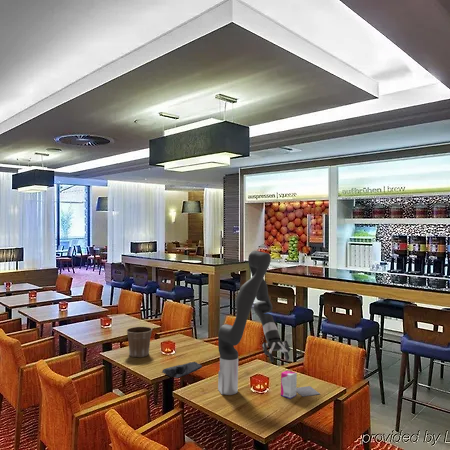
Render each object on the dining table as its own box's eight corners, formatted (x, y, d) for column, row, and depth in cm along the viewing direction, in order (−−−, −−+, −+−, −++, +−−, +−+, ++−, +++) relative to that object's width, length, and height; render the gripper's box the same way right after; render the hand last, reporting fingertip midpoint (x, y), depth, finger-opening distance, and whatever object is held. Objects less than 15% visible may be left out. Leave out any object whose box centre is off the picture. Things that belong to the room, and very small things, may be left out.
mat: (302, 396, 200) (302, 396, 200) (292, 388, 209) (292, 388, 209) (320, 394, 203) (320, 393, 203) (309, 386, 212) (309, 386, 212)
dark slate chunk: (206, 370, 234) (206, 362, 234) (175, 380, 219) (175, 371, 219) (189, 363, 245) (189, 356, 245) (159, 372, 230) (159, 364, 230)
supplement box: (296, 395, 201) (297, 372, 201) (290, 399, 196) (290, 375, 196) (286, 392, 205) (287, 369, 205) (280, 395, 200) (280, 372, 200)
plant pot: (120, 354, 259) (121, 329, 259) (141, 349, 271) (142, 325, 271) (135, 360, 248) (136, 334, 248) (156, 354, 260) (157, 329, 260)
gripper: (261, 330, 216) (270, 358, 205) (285, 328, 220) (295, 356, 210) (257, 337, 221) (265, 365, 210) (280, 335, 225) (290, 362, 215)
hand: (280, 360), depth 210 cm, fingers open, 8 cm apart
